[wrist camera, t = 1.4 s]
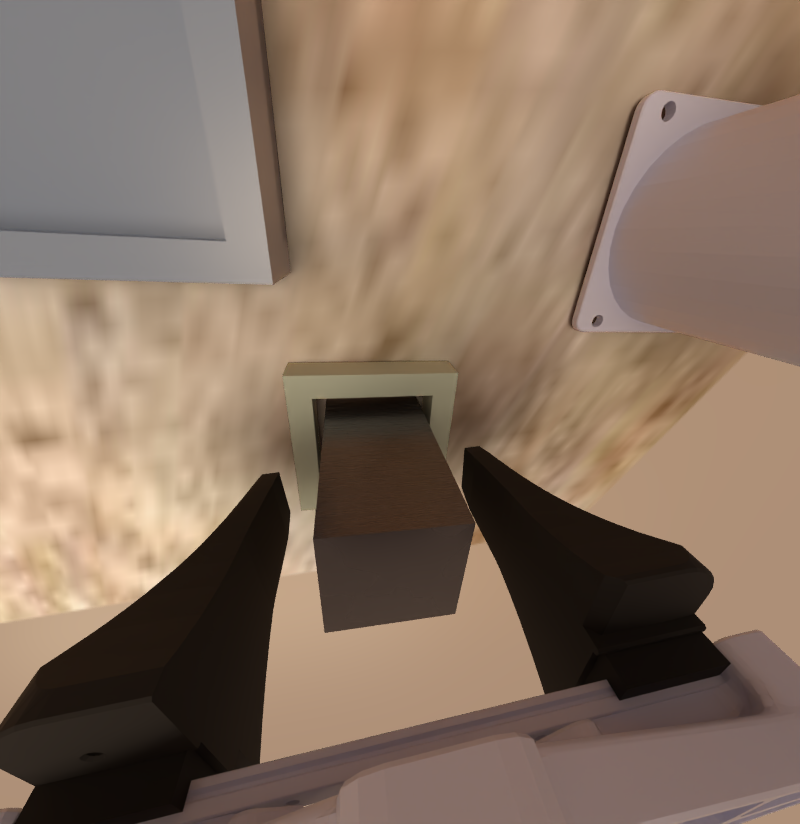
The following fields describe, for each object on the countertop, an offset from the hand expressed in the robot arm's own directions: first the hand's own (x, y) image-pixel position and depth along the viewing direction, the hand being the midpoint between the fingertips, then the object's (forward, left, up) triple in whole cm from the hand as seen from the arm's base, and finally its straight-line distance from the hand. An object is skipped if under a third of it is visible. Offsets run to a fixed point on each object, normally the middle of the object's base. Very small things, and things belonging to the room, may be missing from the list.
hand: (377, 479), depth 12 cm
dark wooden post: (0, 0, -4) cm, 4 cm away
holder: (0, 0, -4) cm, 4 cm away
